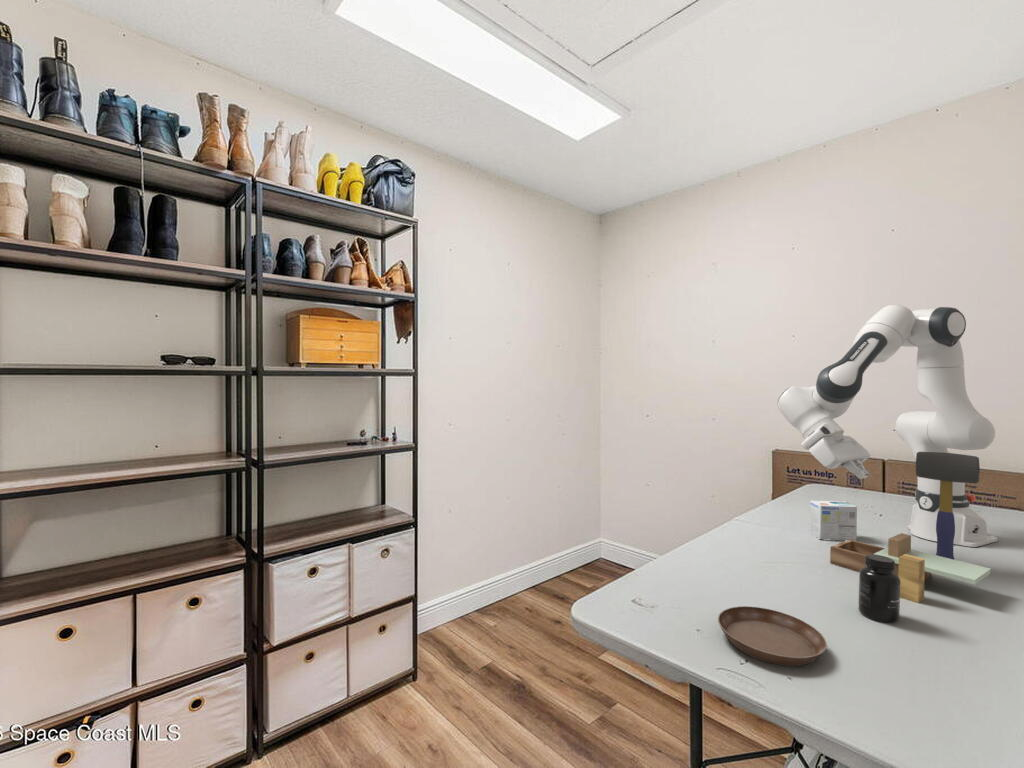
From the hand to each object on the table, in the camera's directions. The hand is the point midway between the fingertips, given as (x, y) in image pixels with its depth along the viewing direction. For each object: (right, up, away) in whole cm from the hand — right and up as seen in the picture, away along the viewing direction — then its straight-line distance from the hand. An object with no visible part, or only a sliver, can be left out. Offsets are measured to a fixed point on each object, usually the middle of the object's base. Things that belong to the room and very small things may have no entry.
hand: (865, 477), depth 127 cm
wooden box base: (+2, -23, -2) cm, 24 cm away
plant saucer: (-45, -24, -37) cm, 63 cm away
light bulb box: (+7, -23, +23) cm, 34 cm away
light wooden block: (-3, -24, -18) cm, 30 cm away
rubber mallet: (+21, -24, 0) cm, 32 cm away
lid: (+7, -19, -11) cm, 23 cm away
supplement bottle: (-16, -24, -26) cm, 39 cm away
